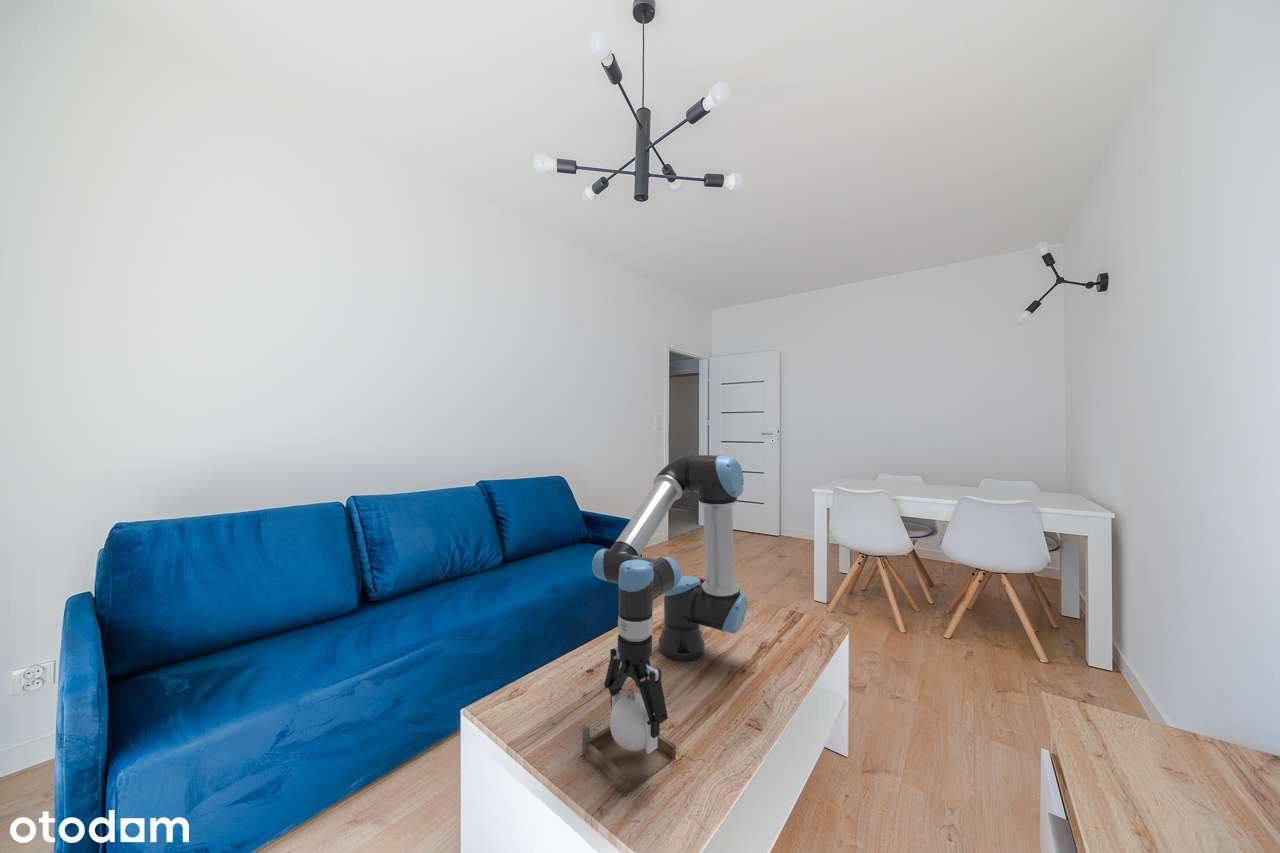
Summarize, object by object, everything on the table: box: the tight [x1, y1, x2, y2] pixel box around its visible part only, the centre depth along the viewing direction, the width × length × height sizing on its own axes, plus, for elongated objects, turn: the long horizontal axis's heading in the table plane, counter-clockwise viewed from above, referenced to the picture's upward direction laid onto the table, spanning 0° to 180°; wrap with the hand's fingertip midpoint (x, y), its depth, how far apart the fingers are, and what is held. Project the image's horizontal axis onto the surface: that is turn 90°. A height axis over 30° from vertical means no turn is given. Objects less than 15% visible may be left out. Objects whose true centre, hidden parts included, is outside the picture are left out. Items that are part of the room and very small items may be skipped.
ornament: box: [609, 688, 654, 751], centre depth 94 cm, size 10×10×12 cm
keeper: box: [581, 725, 677, 796], centre depth 95 cm, size 15×15×6 cm
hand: (633, 736), depth 94 cm, fingers closed on ornament, 10 cm apart
